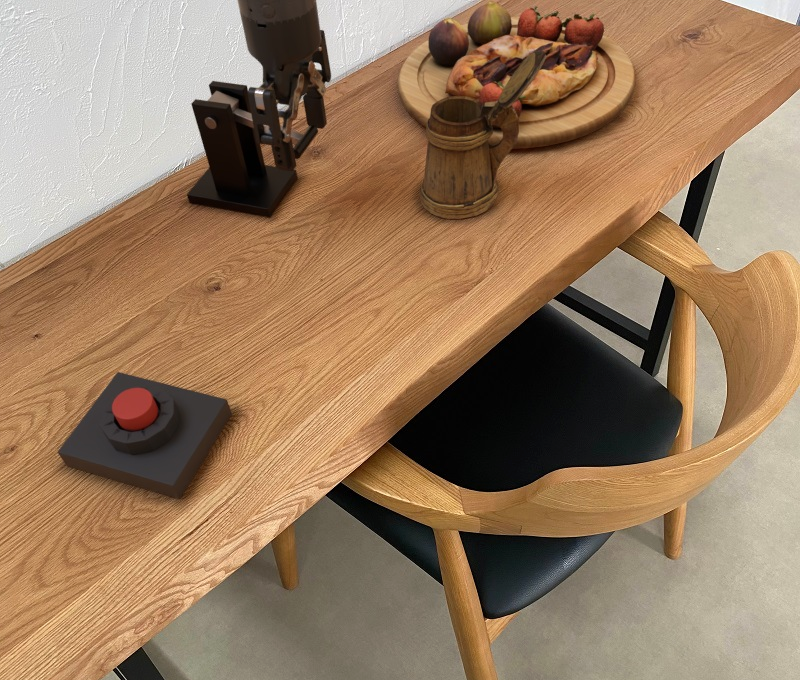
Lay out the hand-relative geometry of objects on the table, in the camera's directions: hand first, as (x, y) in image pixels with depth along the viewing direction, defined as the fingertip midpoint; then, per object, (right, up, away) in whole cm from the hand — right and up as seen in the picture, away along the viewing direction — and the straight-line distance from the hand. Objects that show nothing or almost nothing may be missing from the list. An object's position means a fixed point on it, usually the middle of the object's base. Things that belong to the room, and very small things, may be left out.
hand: (302, 147), depth 90 cm
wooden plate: (+27, +14, +20) cm, 36 cm away
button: (-12, -30, -18) cm, 37 cm away
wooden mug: (+20, -5, +5) cm, 21 cm away
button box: (-12, -32, -15) cm, 38 cm away
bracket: (-8, -3, +8) cm, 12 cm away
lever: (-5, +2, +1) cm, 5 cm away
